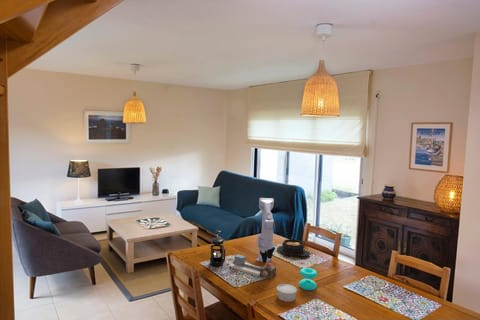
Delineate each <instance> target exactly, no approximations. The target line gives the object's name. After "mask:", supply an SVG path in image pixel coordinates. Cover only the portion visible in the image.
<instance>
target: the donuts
mask: <svg viewBox="0 0 480 320" xmlns="http://www.w3.org/2000/svg"><path fill="white" fill-rule="evenodd" d="M299 274H300V276H301V277H303V279H301V280H300V281H299V282H298V285H299V287H300V288H301V289H303V290H306V291H315V290H316V289H317V287H318V286H317V283H316V282H315V281H314V280H312V279H315V278H317V277H318V272H317V270H316V269H313V268H311V267H303V268H301V269H300V270H299Z"/></svg>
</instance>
